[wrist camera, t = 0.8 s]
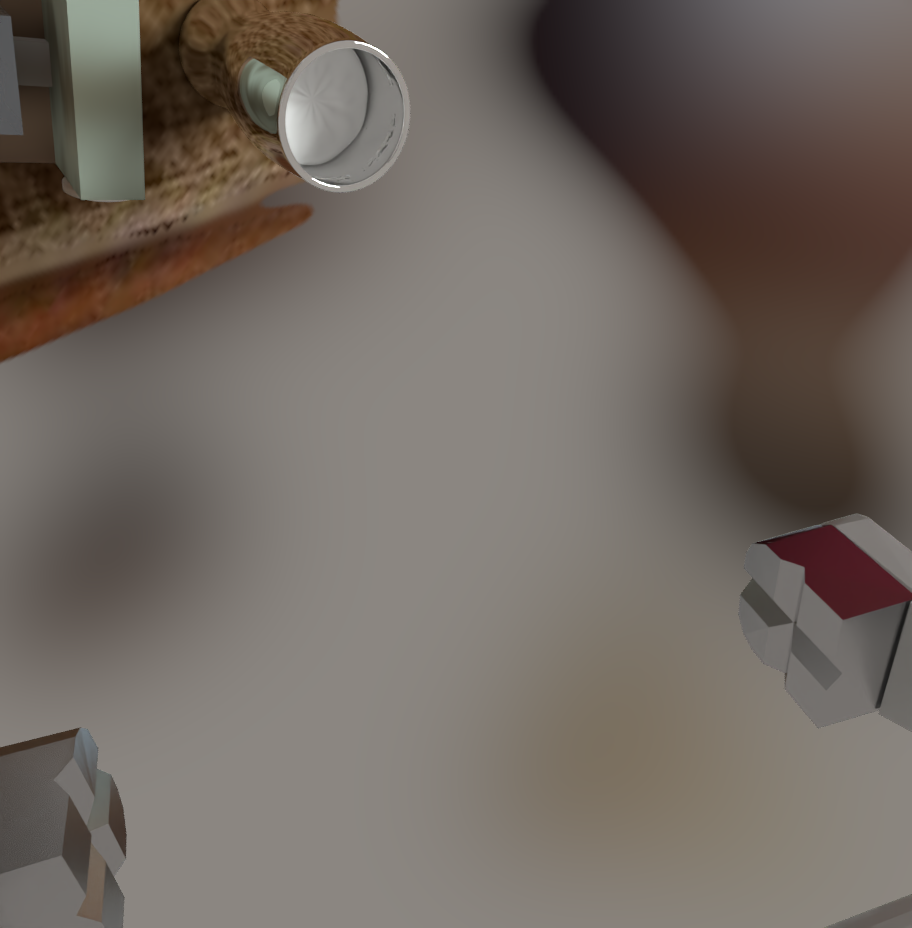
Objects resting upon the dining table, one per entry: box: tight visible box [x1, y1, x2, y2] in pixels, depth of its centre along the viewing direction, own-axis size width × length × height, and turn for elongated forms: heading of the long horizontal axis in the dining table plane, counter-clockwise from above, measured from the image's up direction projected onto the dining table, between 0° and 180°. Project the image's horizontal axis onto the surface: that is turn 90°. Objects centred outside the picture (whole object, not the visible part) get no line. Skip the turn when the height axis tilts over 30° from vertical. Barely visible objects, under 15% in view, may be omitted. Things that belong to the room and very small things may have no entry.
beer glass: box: [179, 0, 411, 193], centre depth 42 cm, size 7×7×15 cm
